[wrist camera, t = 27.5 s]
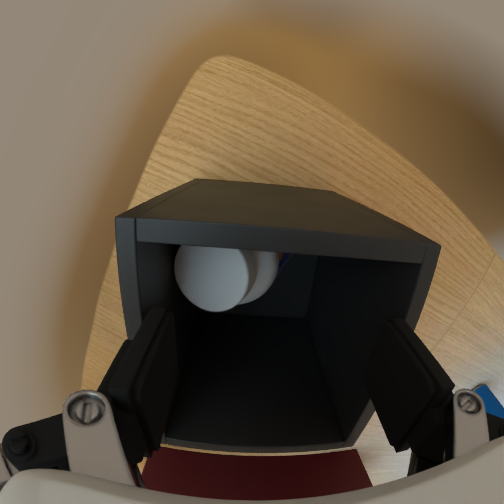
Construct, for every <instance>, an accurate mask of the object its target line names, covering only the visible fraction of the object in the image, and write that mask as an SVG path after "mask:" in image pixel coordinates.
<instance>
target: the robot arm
mask: <svg viewBox="0 0 504 504" xmlns="http://www.w3.org/2000/svg"><path fill="white" fill-rule="evenodd" d="M177 378H178V363H177V352H176V339H175V324H174V314H173V313H170V312H169V310H168V308H162V307H154V306H152V307H151V308H150V310H149V312H148V313H147V315H146V317H145V319H144V320H143V322H142V324H141V326H140V328H139V329H138V331H137V333H136V335H135V337H134V338H133V340H129V339H127V340H125V342H124V343H123V345H122V346H121V348H120V350H119V351H118V353H117V355H116V357H115V359H114V360H113V362H112V364H111V366H110V368H109V369H108V371H107V373H106V375H105V377H104V379H103V380H102V382H101V384H100V386H99V388H98V390H97V391H94V390H81V391H77V392H75V393H73V394H71V395H70V396H69V397H68V398H67V399H66V400H65V402H64V404H63V409H62V413H61V414H58V415H55V416H52V417H49V418H46V419H42V420H39V421H36V422H32V423H29V424H25V425H22V426H18V427H15V428H12V429H11V430H9V431H8V432H7V433H6V434H5V436H4V438H3V441H2V443H1V444H0V504H504V419H503V418H501V417H498V416H495V415H492V414H490V413H487V412H486V411H485V405H484V402H483V400H482V398H481V397H480V396H479V395H478V394H477V393H476V392H474V391H472V390H469V389H460V390H458V391H456V392H455V394H453V393H452V390H453V388H454V387H455V384H454V383H453V382H452V380H451V379H450V377H449V376H448V375H447V373H446V372H445V371H444V369H443V368H442V367H441V365H440V364H439V363H438V361H437V360H436V359H435V358H434V356H433V355H432V354H431V352H430V351H429V350H428V349H427V347H426V346H425V345H424V344H423V342H422V341H421V340H420V339H419V337H418V336H417V335H416V334H415V332H414V331H413V330H412V329H411V327H410V326H409V325H408V324H407V323H406V321H405V320H404V319H401V318H399V319H388V321H387V322H386V323H384V324H383V326H382V329H381V331H380V334H379V337H378V340H377V342H376V345H375V347H374V350H373V353H372V355H371V358H370V360H369V363H368V365H367V367H366V370H365V372H364V375H363V383H364V385H365V387H366V390H367V392H368V394H369V396H370V399H371V401H372V403H373V405H374V408H375V410H376V412H377V415H378V417H379V419H380V422H381V424H382V427H383V429H384V431H385V434H386V436H387V439H388V441H389V443H390V445H391V446H394V448H395V451H396V453H397V452H401V451H404V450H408V449H409V448H411V450H412V452H411V458H410V464H409V469H408V474H407V477H404V478H401V479H398V480H395V481H391V482H388V483H384V484H380V485H377V486H373V487H368V488H364V489H360V490H355V491H350V492H345V493H339V494H333V495H326V496H319V497H310V498H300V499H287V500H263V501H247V500H223V499H210V498H200V497H192V496H184V495H177V494H171V493H165V492H159V491H154V490H149V489H147V488H146V485H145V483H144V481H143V478H142V476H141V473H140V471H139V468H138V465H137V463H140V462H142V460H143V457H148V458H152V454H153V450H154V451H158V450H159V448H160V444H161V440H162V436H163V432H164V428H165V424H166V420H167V416H168V412H169V408H170V404H171V401H172V397H173V393H174V389H175V386H176V382H177Z"/></svg>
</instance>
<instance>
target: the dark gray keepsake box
mask: <svg viewBox="0 0 504 504" xmlns="http://www.w3.org/2000/svg"><path fill="white" fill-rule="evenodd" d="M115 235H116V251H117V263H118V274H119V283H120V291H121V299H122V306H123V313H124V320H125V326H126V332H127V337H128V339H129V340H133V338H134V337H135V335H136V333H137V331H138V329H139V328H140V326H141V324H142V322H143V320H144V319H145V317H146V315H147V313H148V312H149V310H150V308H151V307H152V306H154V307H162V308H168V310H169V312H170V313H173V314H174V324H175V339H176V352H177V363H178V378H177V382H176V386H175V389H174V393H173V397H172V401H171V404H170V408H169V412H168V416H167V420H166V424H165V428H164V432H163V436H162V440H161V443H163V444H168V445H174V446H180V447H187V448H195V449H203V450H213V451H225V452H244V453H289V452H307V451H319V450H329V449H337V448H344V447H351V446H353V445H354V444H355V442H356V441H357V439H358V438H359V436H360V434H361V433H362V431H363V430H364V428H365V427H366V425H367V423H368V422H369V420H370V418H371V417H372V415H373V413H374V412H375V408H374V405H373V403H372V401H371V399H370V396H369V394H368V392H367V390H366V387H365V385H364V383H363V375H364V372H365V370H366V367H367V365H368V363H369V360H370V358H371V355H372V353H373V350H374V347H375V345H376V342H377V340H378V337H379V334H380V331H381V329H382V326H383V324H384V323H386V322H387V321H388V319H399V318H401V319H404V320H405V321H406V323H407V324H408V325H409V326H410V327H411V329H412V330H413V331H414V330H415V327H416V324H417V322H418V319H419V317H420V314H421V311H422V308H423V306H424V303H425V300H426V297H427V294H428V291H429V288H430V285H431V282H432V278H433V275H434V272H435V268H436V265H437V261H438V257H439V254H440V250H441V245H440V244H438V243H436V242H434V241H432V240H431V239H429V238H427V237H425V236H423V235H422V234H420V233H418V232H416V231H414V230H412V229H410V228H408V227H406V226H405V225H403V224H401V223H399V222H397V221H395V220H393V219H391V218H389V217H387V216H385V215H383V214H381V213H379V212H377V211H374V210H372V209H370V208H368V207H366V206H364V205H362V204H360V203H357V202H355V201H353V200H351V199H349V198H347V197H344V196H342V195H340V194H338V193H335V192H333V191H326V190H318V189H310V188H302V187H293V186H284V185H274V184H264V183H252V182H240V181H226V180H210V179H194V180H192V181H189V182H187V183H185V184H182V185H180V186H178V187H176V188H174V189H171V190H169V191H167V192H165V193H163V194H161V195H158V196H156V197H154V198H152V199H150V200H148V201H146V202H144V203H142V204H140V205H138V206H136V207H134V208H132V209H130V210H128V211H126V212H124V213H122V214H120V215H118V216H116V217H115ZM181 245H189V246H202V247H215V248H228V249H241V250H254V251H267V252H280V253H292V255H291V257H290V259H289V261H288V262H287V264H286V265H285V267H284V268H283V269H282V271H281V272H280V274H279V275H278V276H277V278H276V279H275V281H274V282H273V284H272V285H271V286H270V288H269V289H268V290H267V291H266V292H265V293H264V294H263V295H262V296H260V297H259V298H257V299H255V300H253V301H251V302H248V303H245V304H238V305H236V306H234V307H233V308H231V309H228V310H225V311H219V312H213V311H208V310H204V309H202V308H199V307H198V306H196V305H194V304H193V303H192V302H191V301H189V300H188V299H187V298H186V297H185V295H184V294H183V293H182V291H181V290H180V288H179V286H178V283H177V281H176V277H175V273H174V262H175V257H176V254H177V251H178V249H179V247H180V246H181Z"/></svg>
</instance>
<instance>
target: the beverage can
mask: <svg viewBox="0 0 504 504" xmlns="http://www.w3.org/2000/svg"><path fill="white" fill-rule="evenodd" d="M472 391H474V392H476V393H477V394H478V395H479V396H480V397H481V398H482V400H483V402H484V405H485V411H486V412H487V413H490V414H492V415H495V416H498V417H501V418H503V419H504V408H503V406H502V405H501V404H500V402H499V401H498V400H497V398H496V397H495V396H494V394H493V393H492V392H491V391H490V389H489V388H488V387H487V385H480V386H477V387H476V388H474V389H473V390H472Z"/></svg>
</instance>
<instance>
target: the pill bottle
mask: <svg viewBox="0 0 504 504" xmlns="http://www.w3.org/2000/svg"><path fill="white" fill-rule="evenodd" d="M291 255H292V253H280V252H267V251H254V250H241V249H228V248H215V247H202V246H189V245H181V246H180V247H179V249H178V251H177V254H176V257H175V262H174V273H175V277H176V281H177V283H178V286H179V288H180V290H181V291H182V293H183V294H184V295H185V297H186V298H187V299H188V300H189V301H191V302H192V303H193V304H194V305H196V306H198V307H199V308H202V309H204V310H208V311H213V312H219V311H225V310H228V309H231V308H233V307H234V306H236V305H238V304H245V303H248V302H251V301H253V300H255V299H257V298H259V297H260V296H262V295H263V294H264V293H265V292H266V291H267V290H268V289H269V288H270V286H271V285H272V284H273V282H274V281H275V279H276V278H277V276H278V275H279V274H280V272H281V271H282V269H283V268H284V267H285V265H286V264H287V262H288V261H289V259H290V257H291Z"/></svg>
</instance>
